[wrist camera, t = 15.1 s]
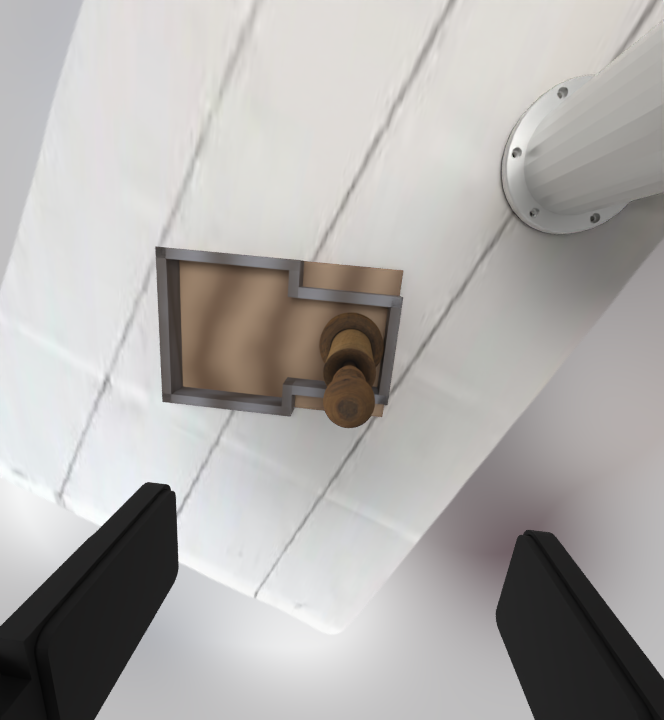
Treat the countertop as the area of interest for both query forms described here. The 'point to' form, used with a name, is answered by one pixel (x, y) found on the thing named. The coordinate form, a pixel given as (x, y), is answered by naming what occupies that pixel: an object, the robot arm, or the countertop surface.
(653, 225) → the countertop surface
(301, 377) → the keyhole board
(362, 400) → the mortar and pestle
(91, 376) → the countertop surface
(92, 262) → the countertop surface
